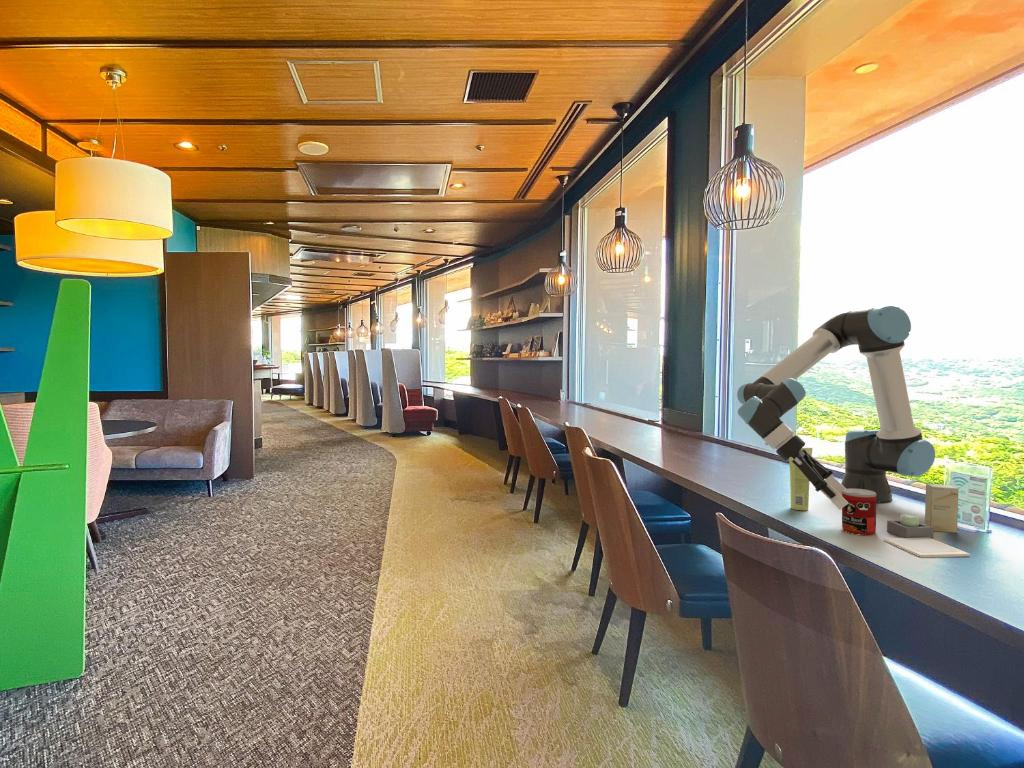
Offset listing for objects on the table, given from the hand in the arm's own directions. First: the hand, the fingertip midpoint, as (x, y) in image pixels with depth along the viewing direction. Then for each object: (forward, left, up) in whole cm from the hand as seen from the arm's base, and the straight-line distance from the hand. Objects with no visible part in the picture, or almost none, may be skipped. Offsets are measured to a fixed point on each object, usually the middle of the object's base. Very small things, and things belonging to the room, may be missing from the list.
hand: (845, 500), depth 146 cm
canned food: (-3, +1, -8) cm, 9 cm away
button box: (-14, +5, -8) cm, 17 cm away
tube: (0, -22, -8) cm, 23 cm away
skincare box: (-26, +1, -8) cm, 27 cm away
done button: (-14, +5, -6) cm, 16 cm away
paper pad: (-10, +15, -8) cm, 20 cm away
